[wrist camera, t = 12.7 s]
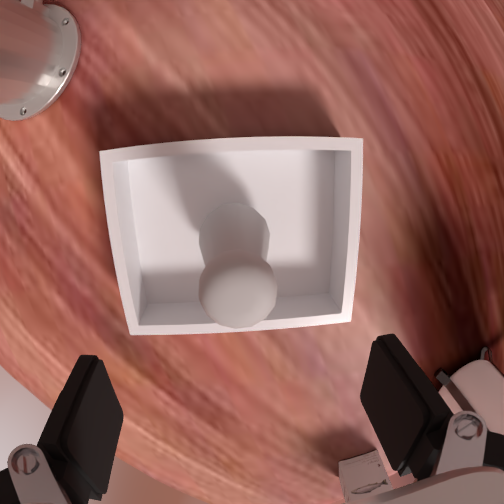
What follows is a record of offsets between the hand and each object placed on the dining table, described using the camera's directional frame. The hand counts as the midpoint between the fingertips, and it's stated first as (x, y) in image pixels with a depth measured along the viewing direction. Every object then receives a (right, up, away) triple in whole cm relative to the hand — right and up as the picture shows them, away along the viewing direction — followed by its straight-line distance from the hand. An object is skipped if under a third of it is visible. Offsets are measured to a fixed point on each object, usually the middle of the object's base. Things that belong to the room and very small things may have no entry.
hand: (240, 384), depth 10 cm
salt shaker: (-1, +6, +19) cm, 20 cm away
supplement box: (+19, -33, +36) cm, 53 cm away
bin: (-1, +7, +19) cm, 21 cm away
